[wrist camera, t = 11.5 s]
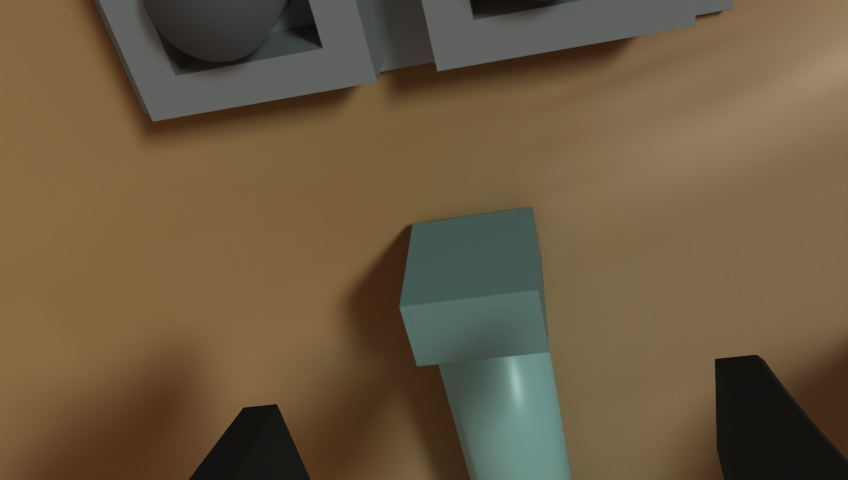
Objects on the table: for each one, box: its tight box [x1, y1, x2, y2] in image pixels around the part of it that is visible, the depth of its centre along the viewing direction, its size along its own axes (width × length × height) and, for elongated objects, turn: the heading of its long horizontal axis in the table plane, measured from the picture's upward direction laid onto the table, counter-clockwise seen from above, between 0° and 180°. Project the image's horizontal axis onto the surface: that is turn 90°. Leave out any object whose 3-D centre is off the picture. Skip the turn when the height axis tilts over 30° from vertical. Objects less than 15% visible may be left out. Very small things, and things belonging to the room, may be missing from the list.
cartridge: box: [399, 207, 572, 480], centre depth 25 cm, size 3×15×4 cm, turn 12°
